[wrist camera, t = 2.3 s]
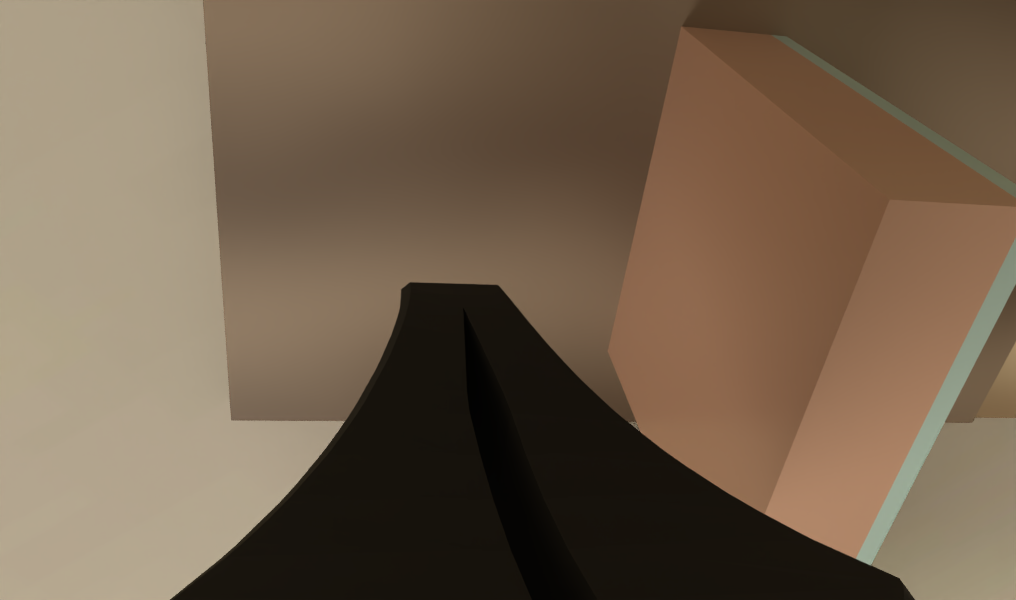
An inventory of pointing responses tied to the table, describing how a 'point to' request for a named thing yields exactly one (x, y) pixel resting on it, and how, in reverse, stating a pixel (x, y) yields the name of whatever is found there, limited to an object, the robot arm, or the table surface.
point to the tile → (805, 285)
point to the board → (511, 163)
